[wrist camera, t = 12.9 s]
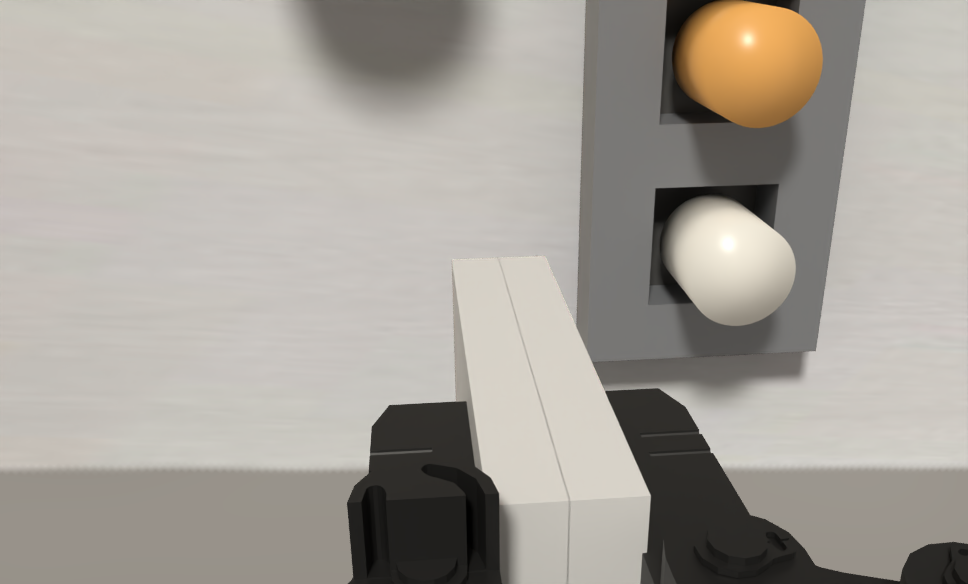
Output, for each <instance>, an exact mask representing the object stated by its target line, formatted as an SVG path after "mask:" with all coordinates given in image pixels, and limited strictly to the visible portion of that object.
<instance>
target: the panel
mask: <svg viewBox="0 0 968 584" xmlns="http://www.w3.org/2000/svg"><path fill="white" fill-rule="evenodd" d="M713 1H716V0H586V14H585V49H584V83H583V118H582V153H581V187H580V222H579V257H578V291H577V326H576V327H577V330H578V332H579V334H580V336H581V339H582V341H583V343H584V345H585V348H586V350H587V352H588V355H589V357H590V359H591V361H592V362H604V361H624V360H645V359H665V358H685V357H705V356H725V355H746V354H766V353H786V352H806V351H816V345H817V338H818V331H819V324H820V317H821V310H822V303H823V296H824V289H825V282H826V275H827V268H828V261H829V254H830V247H831V240H832V233H833V226H834V219H835V212H836V205H837V198H838V191H839V184H840V177H841V170H842V163H843V156H844V149H845V142H846V135H847V128H848V121H849V114H850V107H851V100H852V93H853V86H854V79H855V72H856V65H857V58H858V51H859V44H860V37H861V30H862V23H863V16H864V8H865V1H866V0H743V1H748V2H754V3H759V4H765V5H770V6H776V7H781V8H786V9H789V10H792V11H794V12H796V13H798V14H800V15H801V16H802V17H804V18H805V19H806V20H807V21H808V22H809V23H810V24H811V25H812V27H813V28H814V30H815V31H816V33H817V35H818V37H819V40H820V43H821V47H822V54H823V64H822V72H821V76H820V79H819V83H818V85H817V87H816V89H815V91H814V93H813V95H812V96H811V98H810V99H809V101H808V102H807V103H806V105H805V106H804V107H803V108H802V109H801V110H800V111H799V112H797V113H796V114H795V115H794V116H792V117H791V118H789V119H788V120H786V121H784V122H782V123H779V124H777V125H774V126H770V127H765V128H749V127H744V126H741V125H738V124H736V123H734V122H732V121H730V120H728V119H726V118H724V117H723V116H721V115H719V114H717V113H715V112H714V111H712V110H710V109H708V108H706V107H705V106H703V105H701V104H699V103H698V102H696V101H694V100H693V99H691V98H690V97H688V96H687V95H686V94H685V93H684V92H683V90H682V89H681V88H680V86H679V85H678V83H677V81H676V78H675V76H674V72H673V68H672V50H673V45H674V41H675V39H676V36H677V34H678V32H679V30H680V28H681V26H682V25H683V23H684V22H685V21H686V20H687V19H688V17H689V16H690V15H691V14H692V13H694V12H695V11H696V10H697V9H699V8H700V7H702V6H704V5H706V4H708V3H710V2H713ZM704 194H721V195H725V196H728V197H731V198H733V199H735V200H736V201H738V202H739V203H741V204H742V205H743V206H744V207H746V208H747V209H748V210H749V211H751V212H752V213H753V214H755V215H756V216H757V217H758V218H760V219H761V220H762V221H763V222H765V223H766V224H767V225H769V226H770V227H771V228H772V229H774V230H775V231H776V232H777V233H779V234H780V235H781V236H782V237H783V238H784V239H785V240H786V241H787V242H788V244H789V245H790V247H791V249H792V251H793V254H794V258H795V264H796V273H795V279H794V283H793V286H792V288H791V290H790V292H789V294H788V296H787V298H786V299H785V300H784V302H783V303H782V304H781V305H780V306H779V307H778V308H777V309H776V310H775V311H774V312H773V313H771V314H770V315H769V316H767V317H765V318H764V319H762V320H760V321H757V322H754V323H752V324H748V325H742V326H729V325H723V324H719V323H717V322H714V321H712V320H711V319H709V318H707V317H706V316H705V315H704V314H702V312H701V311H700V310H699V309H698V308H697V307H696V305H695V304H694V303H693V302H692V300H691V299H690V298H689V297H688V295H687V294H686V293H685V291H684V290H683V289H682V288H681V286H680V285H679V284H678V283H677V281H676V280H675V279H674V278H673V276H672V275H671V274H670V273H669V271H668V270H667V269H666V267H665V265H664V263H663V261H662V259H661V255H660V249H659V242H660V235H661V232H662V229H663V226H664V224H665V222H666V221H667V219H668V217H669V216H670V215H671V213H672V212H673V211H674V210H675V209H676V208H677V207H679V206H680V205H681V204H683V203H684V202H686V201H687V200H689V199H691V198H694V197H696V196H700V195H704Z"/></svg>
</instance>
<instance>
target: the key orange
mask: <svg viewBox="0 0 968 584" xmlns="http://www.w3.org/2000/svg"><path fill="white" fill-rule="evenodd" d="M822 64H823V54H822V47H821V43H820V40H819V37H818V35H817V33H816V31H815V30H814V28H813V27H812V25H811V24H810V23H809V22H808V21H807V20H806V19H805V18H804V17H802V16H801V15H800V14H798V13H796V12H794V11H792V10H789V9H786V8H781V7H776V6H770V5H765V4H759V3H754V2H748V1H743V0H716V1H713V2H710V3H708V4H706V5H704V6H702V7H700V8H699V9H697V10H696V11H695V12H694V13H692V14H691V15H690V16H689V17H688V19H687V20H686V21H685V22H684V23H683V25H682V26H681V28H680V30H679V32H678V34H677V36H676V39H675V41H674V45H673V50H672V68H673V72H674V76H675V78H676V81H677V83H678V85H679V86H680V88H681V89H682V90H683V92H684V93H685V94H686V95H687V96H688V97H690V98H691V99H693V100H694V101H696V102H698V103H699V104H701V105H703V106H705V107H706V108H708V109H710V110H712V111H714V112H715V113H717V114H719V115H721V116H723V117H724V118H726V119H728V120H730V121H732V122H734V123H736V124H738V125H741V126H744V127H749V128H765V127H770V126H774V125H777V124H779V123H782V122H784V121H786V120H788V119H789V118H791V117H792V116H794V115H795V114H796V113H797V112H799V111H800V110H801V109H802V108H803V107H804V106H805V105H806V103H807V102H808V101H809V99H810V98H811V96H812V95H813V93H814V91H815V89H816V87H817V85H818V83H819V79H820V76H821V72H822Z"/></svg>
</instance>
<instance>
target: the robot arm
mask: <svg viewBox="0 0 968 584" xmlns="http://www.w3.org/2000/svg"><path fill="white" fill-rule="evenodd" d="M452 285H453V319H454V354H455V389H456V402H441V403H422V404H403V405H389V406H388V408H387V409H386V410H385V411H384V413H383V414H382V415H381V416H380V417H379V419H378V420H377V421H376V422H375V424H374V425H373V426H372V433H371V447H370V462H369V474H368V475H367V476H365V477H364V478H363V479H362V480H361V481H360V482H358V483H357V484H356V485H355V486H354V489H353V490H352V493H351V495H350V498H349V500H348V502H347V507H348V518H349V531H350V542H351V554H352V565H353V578H352V580H351V581H350V582H349V583H348V584H968V544H964V543H957V542H949V543H939V544H928V545H926V546H924V547H922V548H920V549H918V550H917V551H914V552H913V553H910V555H909V557H908V559H907V561H906V563H905V565H904V567H903V570H902V574H901V580H900V581H893V580H887V579H881V578H874V577H868V576H861V575H855V574H849V573H842V572H838V571H833V570H829V569H825V568H821V567H818V566H816V565H815V564H814V563H813V561H812V560H811V558H810V556H809V555H808V553H807V552H806V550H805V549H804V548H803V547H802V546H801V545H800V544H799V543H798V542H797V541H796V540H795V539H794V538H793V536H791V534H790V533H789V532H787V531H785V530H783V529H782V528H780V527H778V526H776V525H774V524H773V523H771V522H769V521H767V520H766V519H762V518H758V517H755V516H751V515H750V514H749V512H748V511H747V509H746V507H745V506H744V504H743V503H742V501H741V499H740V497H739V496H738V494H737V492H736V491H735V489H734V487H733V486H732V484H731V482H730V481H729V479H728V477H727V476H726V474H725V472H724V471H723V469H722V467H721V466H720V464H719V462H718V461H717V459H716V457H715V456H714V454H713V453H711V452H710V447H709V446H708V444H707V442H706V441H705V439H704V437H703V436H702V434H699V429H698V427H697V426H696V424H695V422H694V421H693V419H692V417H691V416H690V414H689V412H688V411H687V409H686V407H685V406H683V405H682V404H680V403H679V402H677V401H676V400H674V399H673V398H672V397H670V396H669V395H667V394H666V393H664V392H663V391H661V390H660V389H658V388H656V389H637V390H617V391H604V389H603V386H602V384H601V382H600V379H599V377H598V375H597V373H596V370H595V368H594V366H593V364H592V361H591V359H590V357H589V355H588V352H587V350H586V348H585V345H584V343H583V341H582V339H581V336H580V334H579V332H578V330H577V327H576V325H575V323H574V321H573V318H572V316H571V314H570V311H569V309H568V307H567V305H566V302H565V300H564V298H563V296H562V293H561V291H560V289H559V287H558V284H557V282H556V280H555V277H554V275H553V273H552V271H551V268H550V266H549V264H548V262H547V259H546V257H545V256H527V257H503V258H478V259H454V260H452Z"/></svg>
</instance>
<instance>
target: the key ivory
mask: <svg viewBox="0 0 968 584" xmlns="http://www.w3.org/2000/svg"><path fill="white" fill-rule="evenodd" d="M659 249H660V255H661V259H662V261H663V263H664V265H665V267H666V269H667V270H668V271H669V273H670V274H671V275H672V276H673V278H674V279H675V280H676V281H677V283H678V284H679V285H680V286H681V288H682V289H683V290H684V291H685V293H686V294H687V295H688V297H689V298H690V299H691V300H692V302H693V303H694V304H695V305H696V307H697V308H698V309H699V310H700V311H701V312H702V314H704V315H705V316H706V317H707V318H709V319H711V320H712V321H714V322H717V323H719V324H723V325H729V326H742V325H748V324H752V323H754V322H757V321H760V320H762V319H764V318H765V317H767V316H769V315H770V314H771V313H773V312H774V311H775V310H776V309H777V308H778V307H779V306H780V305H781V304H782V303H783V302H784V300H785V299H786V298H787V296H788V294H789V292H790V290H791V288H792V286H793V283H794V279H795V273H796V264H795V258H794V254H793V251H792V249H791V247H790V245H789V244H788V242H787V241H786V240H785V239H784V238H783V237H782V236H781V235H780V234H779V233H777V232H776V231H775V230H774V229H772V228H771V227H770V226H769V225H767V224H766V223H765V222H763V221H762V220H761V219H760V218H758V217H757V216H756V215H755V214H753V213H752V212H751V211H749V210H748V209H747V208H746V207H744V206H743V205H742V204H741V203H739V202H738V201H736V200H735V199H733V198H731V197H728V196H725V195H721V194H704V195H700V196H696V197H694V198H691V199H689V200H687V201H686V202H684V203H683V204H681V205H680V206H679V207H677V208H676V209H675V210H674V211H673V212H672V213H671V215H670V216H669V217H668V219H667V221H666V222H665V224H664V226H663V229H662V232H661V235H660V242H659Z"/></svg>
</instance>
